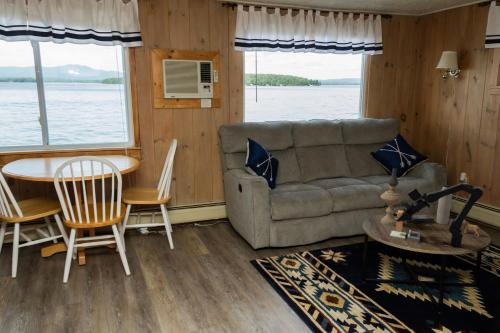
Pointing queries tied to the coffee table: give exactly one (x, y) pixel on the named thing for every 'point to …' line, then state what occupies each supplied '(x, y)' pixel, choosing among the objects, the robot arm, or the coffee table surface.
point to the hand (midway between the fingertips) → (397, 219)
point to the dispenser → (412, 234)
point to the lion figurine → (470, 227)
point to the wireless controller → (421, 218)
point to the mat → (398, 234)
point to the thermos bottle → (444, 208)
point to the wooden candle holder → (391, 200)
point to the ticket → (400, 223)
